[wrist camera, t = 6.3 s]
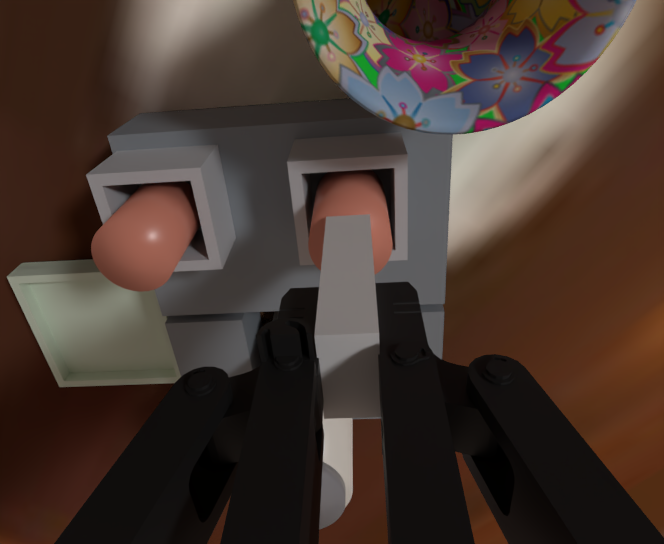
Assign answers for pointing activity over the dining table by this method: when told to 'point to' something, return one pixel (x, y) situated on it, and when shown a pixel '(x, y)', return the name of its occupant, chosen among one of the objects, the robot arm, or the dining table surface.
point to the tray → (94, 325)
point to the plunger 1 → (147, 236)
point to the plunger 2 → (351, 211)
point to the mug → (458, 55)
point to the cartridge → (335, 467)
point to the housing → (275, 211)
